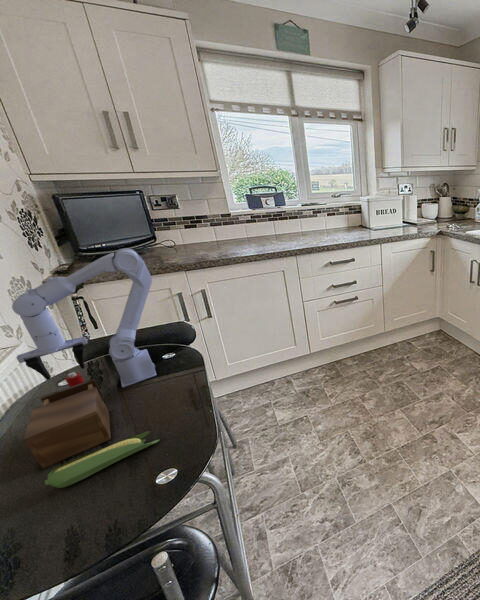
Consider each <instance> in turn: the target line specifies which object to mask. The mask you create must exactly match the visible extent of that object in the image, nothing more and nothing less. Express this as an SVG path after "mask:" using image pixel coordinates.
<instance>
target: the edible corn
mask: <svg viewBox="0 0 480 600" xmlns="http://www.w3.org/2000/svg"><path fill="white" fill-rule="evenodd" d="M151 432H152V430H150V431H144V432H142V433H139V434H137V435H134V436H131V437H129V438H126V439H123V440H121V441H118V442H115V443H113V444H110V445H107V446H105V447H102V448H100V449H97V450H95V451H92V452H90V453H89V452H88V453H87V454H85V455H82V456H79V457H77V458H75V459H72V460H69V461H67V462H64V463H63V464H61V465H58V466H57V467H55V468H54V469H52V470H51V471H50V472H49V473H48V474H47V478H46V479H44V484H45V485H46V486H51V487H53V488H56V489H63V488H67V487H70V486H72V485H75V484H76V483H79V482H81V481H83V480H84V479H87V478H89V477H91V476H92V475H95V474H96V473H99V472H100V471H102V470H105V469H106V468H108V467H110V466H112V465H114V464H116V463H118V462H120V461H122V460H124V459H126V458H128V457H129V456H132V455H134V454H135V453H138V452H140V451H142V450H144V449H147V448H148V447H150V446H153V445H154V444H157V443H158V442H160V441H161V439H155V440H152V441H150V442H147V443H145V442H146V439H144V438H145V437H146V436H148V435H149V434H150V433H151Z"/></svg>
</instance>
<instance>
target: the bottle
mask: <svg viewBox="0 0 480 600" xmlns="http://www.w3.org/2000/svg"><path fill="white" fill-rule="evenodd" d="M64 380H65V381H66V383H67V385H68V386H69V387H72V386H75V385H78V384H80V383H83V382H85V381H84V379H83V377H82V375H81V373H80V372H75V371H72V372H70V373H68V374H67V376H66V377H65V379H64ZM69 387H68V388H69Z"/></svg>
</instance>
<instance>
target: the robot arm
mask: <svg viewBox="0 0 480 600" xmlns="http://www.w3.org/2000/svg"><path fill="white" fill-rule="evenodd" d="M117 269H118V270H119V271H121V272H122V273H124V274H125V275H127V276H128V278H129V279H130V280H131V281H132V284H131V287H130V290H129V293H128V296H127V300H126V303H125V306H124V310H123V312H122V315H121V318H120V322H119V326H118V327H117V329H116V332H115V334H113V335H112V336H111V338H110V339H109V342H108V345H109V348H108V349H109V350H108V354H109V356H110V357H111V360H112V362H113V365H114V367H115V369H116V372H117V373H118V375H119V377H120V385H121V388H126V387H130V386H132V385H134V384H137V383H140V382H142V381H146V380H147V379H151V378H154V377H156V376H157V371H156V365H155V363H153V361H152V359H151V356H150V354H149V351H148V349H147V348H146V349H145V348H144V349H139V348H137V347H136V346H135V341H136V336H137V335H136V334H137V331H138V328H139V327H138V326H139V324H140V321H141V318H142V317H141V316H142V314H143V311H144V308H145V305H146V302H147V298H148V295H149V293H150V289H151V287H152V283H153V277H152V275H151V273H150V271H149V269H148V267H147V265H146V263H145V261H144V259H143V257H141V255H140V254H139V253H137V252H136V250H134V249H132V248H127V247H124V248H120V249H118V250H116V251H115V252H111V253H108V254H106V255H104V256H101V257H99V258H97V259H95V260H94V261H92V262H90V263H89V264H87V265H85V266H84V267H82V268H80V269H78V270H76V271H75V272H73V273H72V274H70V275H68V276H55V277H52V276H50V277H48V278H46V279H45V281H46V282H44V283H42V284H40V285H38V286H37V287H35V288H32V287H30V288H28V289H27V290H26V292H25V293H22V294H20V295H18V296H17V297H16V299H15V300H14V301H13V302H12V303H11V304H12V305H11V309H12V311H13V312H14V313H15V314H16V315H19V316H20V318H21V320H22V323H23V325H24V328H25V329H26V330H27V333H28V334H29V336H30V337H31V339H32V341H33V343H34V345H35V346H36V348H35V349H32V350H29V351H27V352H24V353H20V354H17V355H16V360H17V361H18V363H19V364H22V363H25V365H26V367H27V368H30V369H32V370H34V371H35V372H37V373H39V374H40V375H41V376H42V377H44V379H45V380H46V381H49V380H51V378H52V377H51V376H52V375H51V374H50V372H49V371H48V369H47V367H45V364H44V362H43V359H42V357H44V356H47V355H51V354H54V353H58V352H61V351H64V350H68V349H71V351H72V353H73V354H74V356H75V358H76V360H77V362H78V364H79V367H80V368H81V370H83V369H85V368H86V366H85V363H84V347H85V345H88V340H87V337H86V336H81V337H75V338H72V339H67V340H65V339H64V337H63V335H62V332H61V330H60V329H59V327H58V325H57V323H56V321H55V319H54V317H53V316H52V314H51V313H50V311H49V309H48V307H47V306H53V305H54V304H56V303H58V302H60V301H61V300H63V299H66V298H67V297H68V296H70V295H73V294H75V292H76V288H77V286H79V285H80V284H82V283H85V282H87V281H89V280H90V279H92V278H94V277H96V276H98V275H100V274H102V273H105V272H106V273H107V272H108V273H110V272H111V273H112V272H113V273H114V272H115V273H116V272H117Z"/></svg>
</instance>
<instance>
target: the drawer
mask: <svg viewBox="0 0 480 600" xmlns="http://www.w3.org/2000/svg"><path fill="white" fill-rule="evenodd" d="M94 387H96V388H97V390H98V392H99V394H100V396H101V398H102V400H103V402H104V401H106V400H105V397H104V394H103V393H102V391H101V389H100V387H99V385H98V383H97V380H96V379H95V378H92V379H90V380H87V381H84V382H83V383H80V384H78V385H75V386H72V387H65V388H63V389H60V390H57V391H54V392H51V393H49V394H46V395H43V396H40V401H41V402H42V406H43V405H46V404H49V403H52V402H54V401H57V400H60V399H63V398H66V397H69V396H71V395H74V394H77V393H80V392H83V391H86V390H88V389H91V388H94Z"/></svg>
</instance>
